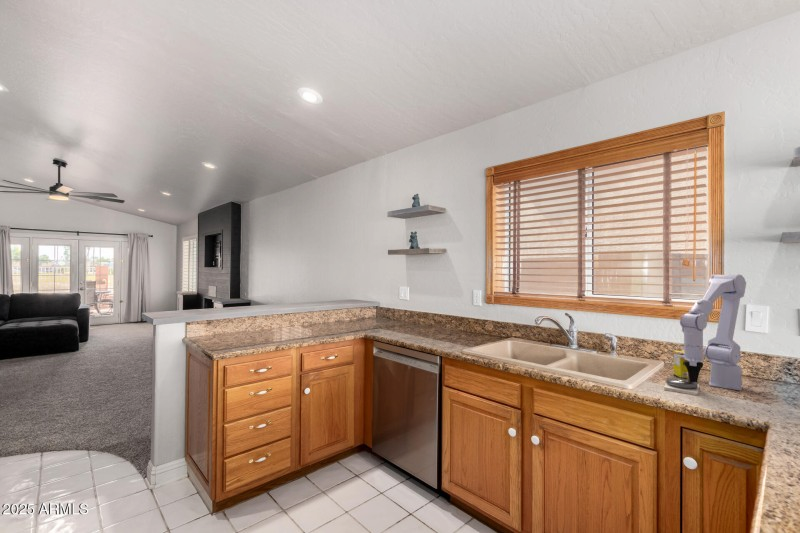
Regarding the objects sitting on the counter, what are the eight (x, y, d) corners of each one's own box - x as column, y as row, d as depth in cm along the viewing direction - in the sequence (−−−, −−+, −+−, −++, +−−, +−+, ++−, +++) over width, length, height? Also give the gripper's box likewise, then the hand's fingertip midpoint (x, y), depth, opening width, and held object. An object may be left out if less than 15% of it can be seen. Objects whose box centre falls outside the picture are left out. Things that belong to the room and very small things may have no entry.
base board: (698, 387, 146) (698, 384, 146) (697, 395, 136) (697, 392, 136) (667, 382, 152) (667, 379, 152) (664, 389, 142) (664, 386, 142)
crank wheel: (680, 389, 139) (680, 376, 139) (660, 381, 148) (660, 369, 148) (704, 388, 140) (704, 376, 140) (683, 381, 149) (683, 369, 149)
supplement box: (696, 380, 155) (696, 353, 155) (680, 379, 156) (680, 353, 156) (688, 376, 161) (688, 350, 161) (673, 375, 162) (673, 350, 162)
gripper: (680, 341, 150) (681, 375, 150) (679, 347, 139) (679, 383, 139) (703, 343, 146) (703, 378, 146) (703, 349, 134) (704, 387, 134)
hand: (693, 381), depth 142 cm, fingers closed
